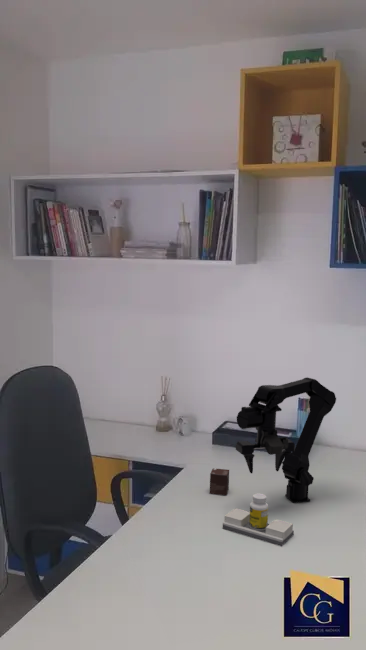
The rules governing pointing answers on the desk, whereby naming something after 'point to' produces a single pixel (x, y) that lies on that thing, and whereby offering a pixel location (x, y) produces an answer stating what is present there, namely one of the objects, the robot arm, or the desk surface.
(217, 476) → the box
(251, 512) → the supplement bottle
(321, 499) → the desk surface
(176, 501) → the desk surface
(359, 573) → the desk surface
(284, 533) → the rail plate
